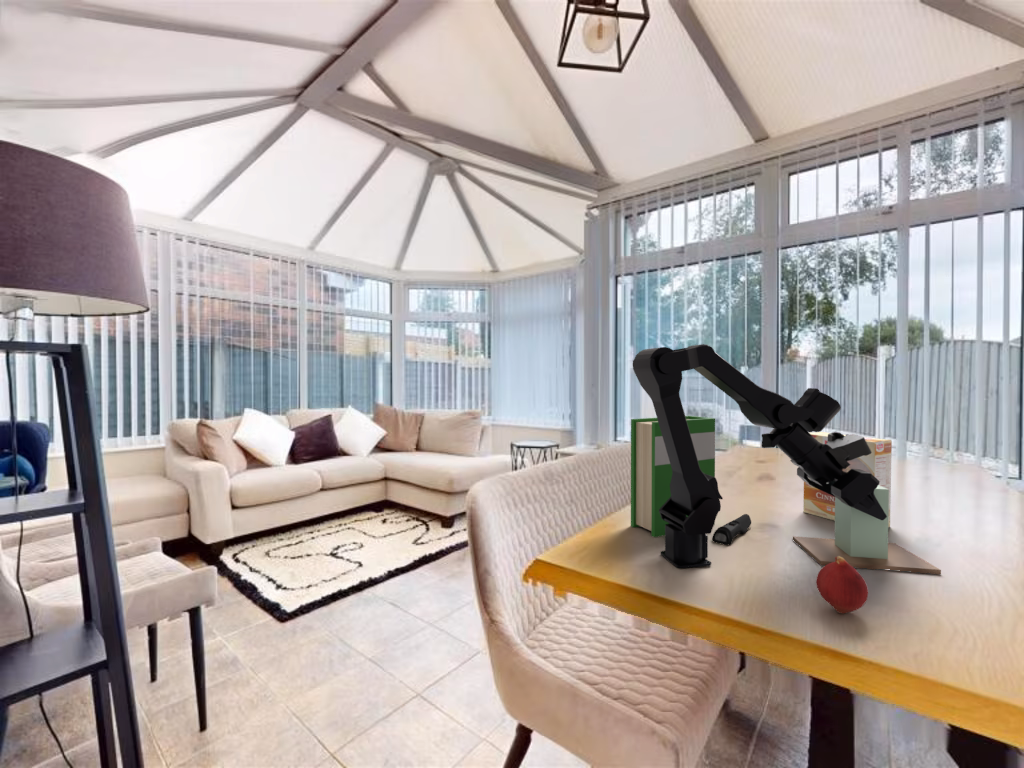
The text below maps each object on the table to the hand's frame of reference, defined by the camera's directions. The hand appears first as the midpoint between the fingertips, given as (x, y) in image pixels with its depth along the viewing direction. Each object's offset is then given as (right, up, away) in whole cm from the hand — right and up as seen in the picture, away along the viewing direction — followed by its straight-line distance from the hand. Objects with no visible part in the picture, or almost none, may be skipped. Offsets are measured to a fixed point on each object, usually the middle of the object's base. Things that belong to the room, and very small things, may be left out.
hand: (868, 510), depth 81 cm
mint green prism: (-1, -8, +1) cm, 8 cm away
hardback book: (-30, -8, +17) cm, 36 cm away
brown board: (-1, -9, 0) cm, 9 cm away
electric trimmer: (-19, -9, +12) cm, 24 cm away
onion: (-19, -9, -19) cm, 29 cm away
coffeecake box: (+11, -8, +21) cm, 25 cm away
